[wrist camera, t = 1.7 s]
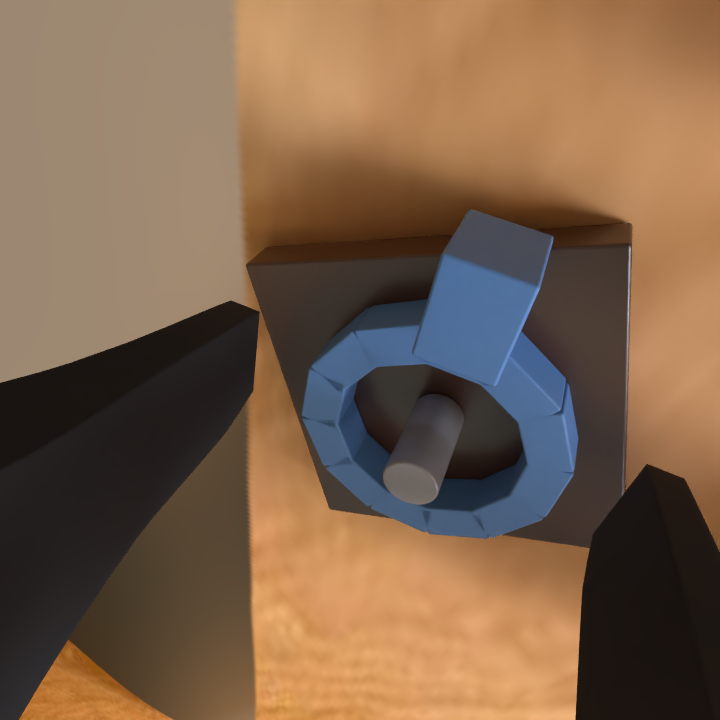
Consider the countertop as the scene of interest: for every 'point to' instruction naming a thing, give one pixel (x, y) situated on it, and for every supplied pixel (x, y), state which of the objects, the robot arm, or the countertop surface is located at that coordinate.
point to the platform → (453, 393)
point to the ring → (464, 359)
